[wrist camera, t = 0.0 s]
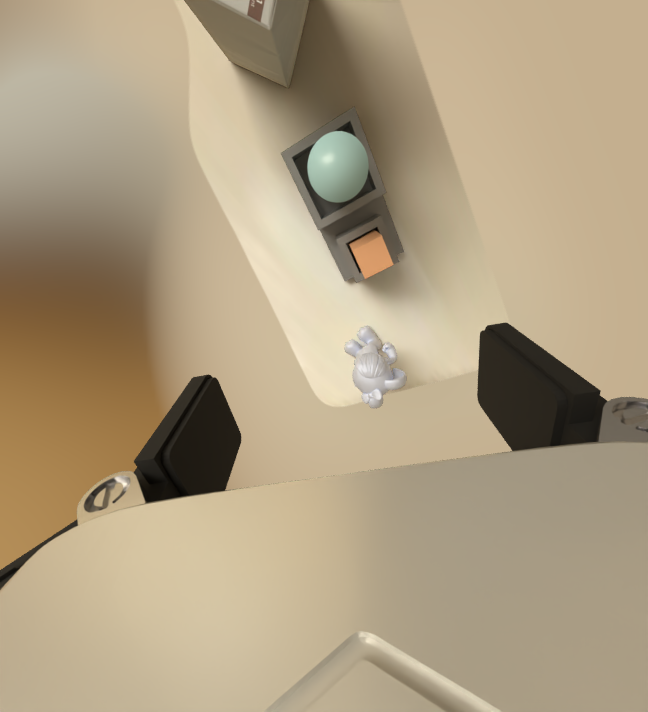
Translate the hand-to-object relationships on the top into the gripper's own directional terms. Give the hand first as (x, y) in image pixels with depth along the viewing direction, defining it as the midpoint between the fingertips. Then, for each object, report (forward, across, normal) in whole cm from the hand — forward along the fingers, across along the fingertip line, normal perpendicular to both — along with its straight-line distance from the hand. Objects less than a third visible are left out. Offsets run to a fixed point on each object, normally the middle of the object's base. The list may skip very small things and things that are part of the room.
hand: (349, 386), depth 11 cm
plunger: (+28, -4, +1) cm, 28 cm away
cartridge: (+30, -2, -8) cm, 31 cm away
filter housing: (+31, -3, -3) cm, 32 cm away
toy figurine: (+31, -2, +14) cm, 35 cm away
